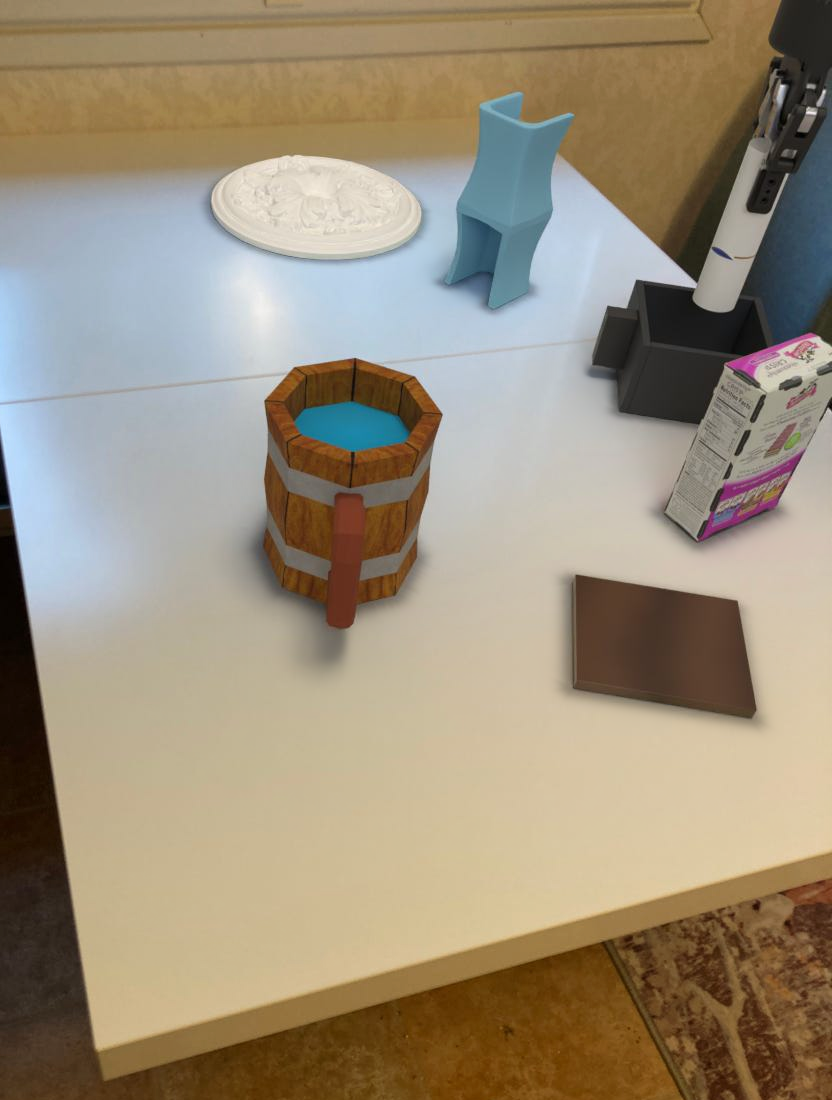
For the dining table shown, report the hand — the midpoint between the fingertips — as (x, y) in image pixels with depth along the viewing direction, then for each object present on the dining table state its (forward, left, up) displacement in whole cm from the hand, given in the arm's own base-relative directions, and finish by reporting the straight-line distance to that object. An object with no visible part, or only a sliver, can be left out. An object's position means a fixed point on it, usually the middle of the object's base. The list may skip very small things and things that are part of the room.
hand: (753, 199), depth 88 cm
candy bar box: (-2, +21, -21) cm, 29 cm away
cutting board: (+5, +40, -20) cm, 45 cm away
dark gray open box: (+2, 0, -20) cm, 20 cm away
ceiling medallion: (+46, -30, -21) cm, 59 cm away
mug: (+32, +38, -21) cm, 54 cm away
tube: (0, 0, -10) cm, 10 cm away
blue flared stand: (+22, -16, -21) cm, 34 cm away
